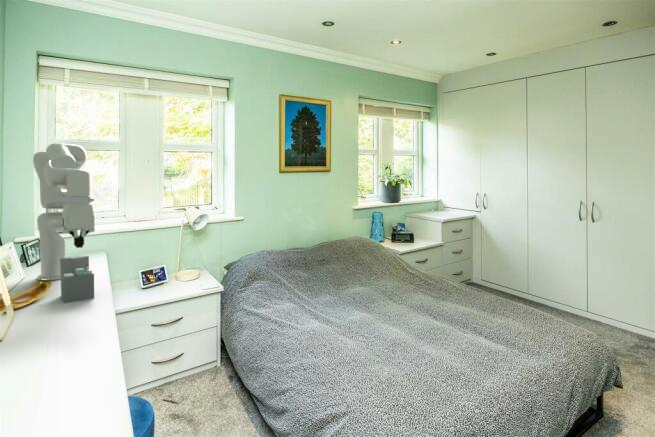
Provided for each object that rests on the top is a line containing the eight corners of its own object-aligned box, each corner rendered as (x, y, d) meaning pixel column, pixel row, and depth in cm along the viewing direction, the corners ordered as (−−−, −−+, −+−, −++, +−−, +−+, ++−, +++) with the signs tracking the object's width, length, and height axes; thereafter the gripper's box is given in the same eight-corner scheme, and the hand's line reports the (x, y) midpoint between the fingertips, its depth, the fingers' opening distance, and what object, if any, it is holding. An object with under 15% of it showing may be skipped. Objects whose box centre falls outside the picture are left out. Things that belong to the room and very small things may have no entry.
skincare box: (73, 297, 149) (73, 258, 148) (59, 295, 151) (58, 257, 149) (91, 291, 157) (90, 255, 156) (77, 290, 159) (76, 254, 158)
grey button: (86, 273, 148) (86, 270, 148) (90, 273, 149) (90, 269, 149) (87, 274, 147) (87, 270, 147) (91, 273, 148) (91, 270, 148)
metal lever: (86, 273, 150) (85, 264, 150) (88, 272, 150) (88, 264, 150) (86, 273, 149) (86, 264, 149) (89, 272, 150) (88, 264, 150)
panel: (61, 300, 145) (61, 275, 144) (90, 295, 152) (90, 271, 151) (64, 303, 142) (64, 277, 141) (94, 298, 149) (94, 273, 148)
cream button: (63, 282, 144) (63, 274, 144) (71, 281, 146) (71, 273, 146) (65, 283, 142) (65, 275, 142) (73, 282, 144) (73, 274, 144)
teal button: (75, 276, 147) (75, 268, 146) (82, 275, 148) (82, 268, 148) (77, 278, 145) (77, 270, 145) (84, 277, 147) (84, 269, 147)
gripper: (96, 200, 152) (97, 244, 154) (52, 200, 141) (53, 247, 142) (103, 201, 147) (103, 246, 149) (57, 201, 136) (58, 250, 137)
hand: (79, 247), depth 146 cm, fingers closed
